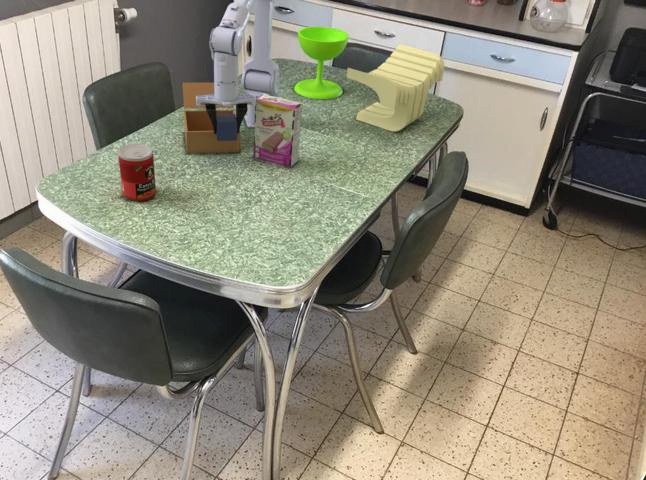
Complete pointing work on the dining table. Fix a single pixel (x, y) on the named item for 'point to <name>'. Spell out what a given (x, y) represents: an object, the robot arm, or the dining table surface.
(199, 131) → the carton
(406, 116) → the slatted curved stool
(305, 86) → the wineglass
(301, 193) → the dining table surface
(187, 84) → the flap
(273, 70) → the robot arm
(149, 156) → the canned food
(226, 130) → the cube
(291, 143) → the candy bar box
